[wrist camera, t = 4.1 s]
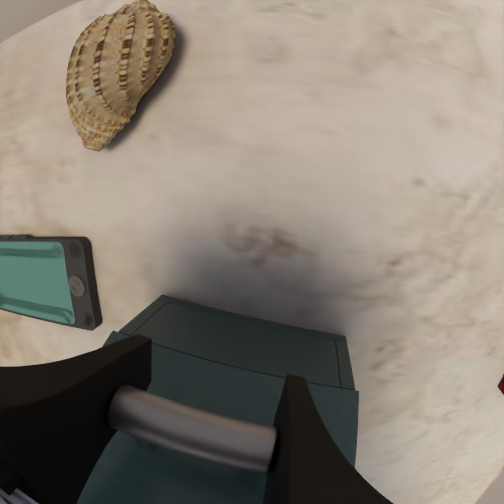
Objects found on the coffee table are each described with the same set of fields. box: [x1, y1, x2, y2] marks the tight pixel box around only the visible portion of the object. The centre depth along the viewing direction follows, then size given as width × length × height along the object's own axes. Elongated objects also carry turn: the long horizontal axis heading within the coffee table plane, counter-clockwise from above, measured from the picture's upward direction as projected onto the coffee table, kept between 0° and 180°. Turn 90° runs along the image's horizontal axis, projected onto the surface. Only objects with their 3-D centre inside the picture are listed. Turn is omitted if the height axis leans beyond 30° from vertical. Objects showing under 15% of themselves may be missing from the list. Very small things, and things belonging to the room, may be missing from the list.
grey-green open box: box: [119, 295, 355, 390], centre depth 19 cm, size 14×13×6 cm
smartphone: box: [0, 235, 102, 330], centre depth 23 cm, size 7×1×15 cm
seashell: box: [66, 0, 176, 151], centre depth 16 cm, size 8×6×10 cm
